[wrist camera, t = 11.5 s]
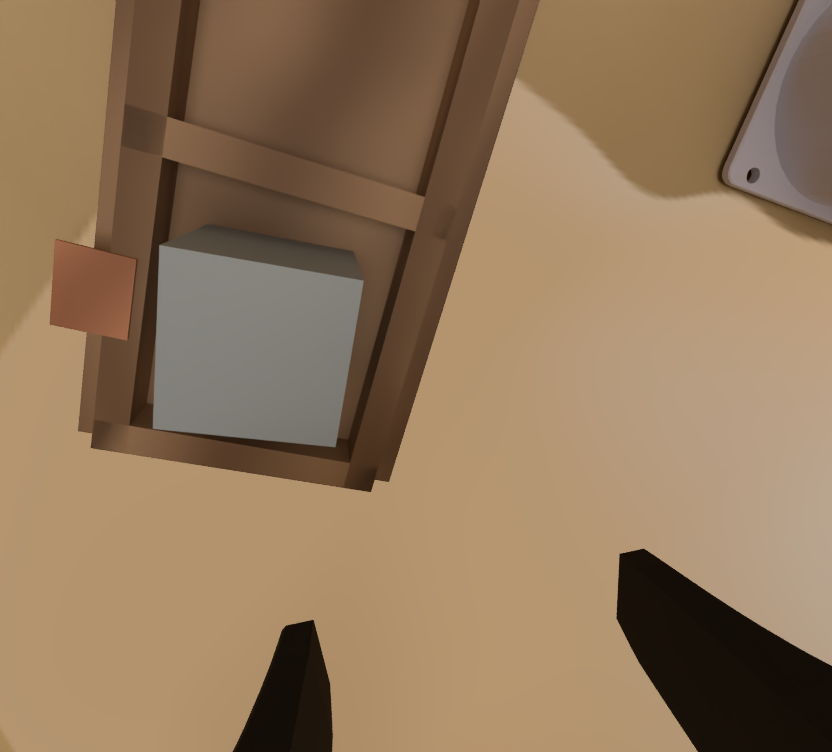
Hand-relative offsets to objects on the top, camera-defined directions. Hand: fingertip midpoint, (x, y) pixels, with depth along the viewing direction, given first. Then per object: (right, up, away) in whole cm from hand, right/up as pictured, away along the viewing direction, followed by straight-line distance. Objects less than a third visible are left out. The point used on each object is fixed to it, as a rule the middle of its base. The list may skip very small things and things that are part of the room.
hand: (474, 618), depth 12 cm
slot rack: (-5, +12, +5) cm, 14 cm away
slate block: (-6, +8, +5) cm, 11 cm away
